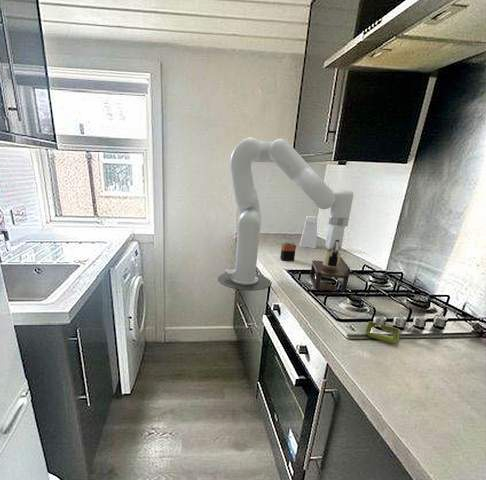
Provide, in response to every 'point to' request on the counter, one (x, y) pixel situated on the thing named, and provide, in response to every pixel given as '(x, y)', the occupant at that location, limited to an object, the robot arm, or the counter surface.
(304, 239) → the grater
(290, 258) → the battery
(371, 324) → the green square frame
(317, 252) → the counter surface
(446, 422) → the counter surface
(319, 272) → the rack
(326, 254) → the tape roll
